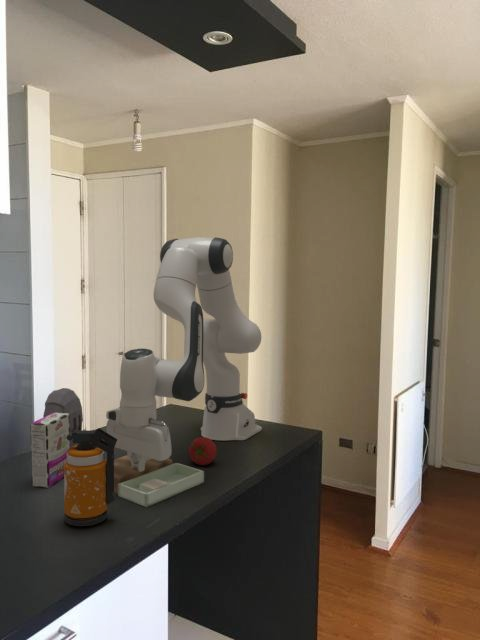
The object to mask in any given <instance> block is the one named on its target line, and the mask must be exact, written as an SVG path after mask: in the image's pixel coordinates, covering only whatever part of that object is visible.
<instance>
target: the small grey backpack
mask: <svg viewBox="0 0 480 640" xmlns="http://www.w3.org/2000/svg"><path fill="white" fill-rule="evenodd" d="M52 413H68V414H69V431H70V433H71V432H74V430H80V431H83V422H84V421H83V420H84V417H83V406H82V403H81V399H80V398H79V396H78V395H77V393H76V392H75V391H74V390H73V389H71V388H67V387H63V388H59V389H56V390H55V389H54V390H52V391H51V392H50V393H49V394H48V396H47V398H46V400H45V401H44V411H43V415H42V416H43V417H45V416H48V415H50V414H52ZM43 417H42V418H43ZM78 444H79V443H73V439H72V440H70V448H71V447H72V446H75V445H78Z"/></svg>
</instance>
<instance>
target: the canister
mask: <svg viewBox="0 0 480 640" xmlns="http://www.w3.org/2000/svg"><path fill="white" fill-rule="evenodd" d="M66 438H67V440H72V439H73V443H79V444H78V445H75V446H72V447H71V448H69V450H68V452H67V461H66V462H65V464H64V479H63V482H64V483H63V489H64V491H63V492H64V498H63V499H64V501H63V502H64V522H66V524H69V525H71V526H76V527H89V526H94V525H96V524H99V523H102V522H103V521H104V520H105V519H106V518H107V517H108V505H109V504H111V503H113V502H115V500H116V499H117V497H118V494H117V493H115V492H114V459H115V445H116V442H117V439H116V438H115V437H113V436H111V435H110V434H108V433H106V430H105V431H104V430H103V429H101V428H100V427H99V428H97V429H95V430H94V429H93V430H90V429H88V430H85V429H84V430H82V431H80V430H74V432H71V433H69V434H68V435H67V437H66ZM105 453H106V454H105ZM105 455H106V458H105Z"/></svg>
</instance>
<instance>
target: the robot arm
mask: <svg viewBox="0 0 480 640" xmlns="http://www.w3.org/2000/svg"><path fill="white" fill-rule="evenodd" d="M159 258H160V259H159V261H160V265H159V268H158V271H157V275H156V278H155V279H156V280H155V283H154V287H153V301H154V304H155V305H156V307H157V308H158V309H159V310H160V311H161V312H162V313H163V314H165V315H166V316H168V317H169V318H171V319H174V320H176V321H177V322H179V323H181V324H182V326H183V328H184V340H183V343H184V345H183V347H184V348H183V357H182V359H181V360H173V359H164V358H159V357H157V356H155V353H154V351H153V350H151V349H149V348H143V347H142V348H135V349H134V348H133V349H129V350H128V351H127V352H125V353H124V354H123V355H122V359H121V364H120V370H119V388H120V392H121V398H120V401H119V407H117V408H113V409H111V410H107V411H106V415H105V416H106V419H107V422H106V429H105V432H106V433H108V434H110V435H111V436H113V437H115V438H116V439H117V442H116V445H115V447H114V449H115V448H116V449H120V450H123V451H126V452H127V451H128V456H129V458H130V461H131V463H132V469H133V470H136V471H139V472H142V471H144V470H145V463H146V461H147V459H148V458H151V459H154V460H157V461H163V460H166V459H168V458H169V459H170V457H171V456H172V452H173V451H172V441H171V440H172V439H171V434H170V430H169V426H168V425H167V424H166V423H165V421H163V420H158V419H157V400H156V397H161V398H170V399H176V400H180V401H183V402H190V401H193V400H194V399H195V398H197V397H198V396H199V395H200V394H201V393H202V392H203V390H204V388H205V387H204V386H205V376H206V393H205V396H204V404H205V407H204V411H203V419H202V426H201V427H200V433H201V437H206V438H209V439H211V440H212V441H213V440H214V441H245V440H247V439H249V438H251V437H252V436H254V435H256V434H258V433H259V432H261V431H262V430H263V429H262V428H263V427H262V426H260V425H258V424H256V417H255V413H254V411H252V410H251V409H250V408H249V407H248V406H246V405H245V404H244V401H243V400H247V398H248V394H247V393H246V392H245V393H244V392H241V391H240V390H241V389H240V387H241V386H240V385H241V384H240V382H241V381H240V380H241V377H240V376H241V373H240V371H239V369H238V367H237V366H236V365H234V364H232V363H231V362H230V361H229V360H228V358H227V356H226V353H227V354H240V355H242V354H249V353H255V352H256V350H258V349H259V347H260V346H261V342H262V332H261V329H260V327H259V326H258V325H257V323H256V322H254V321H252V320H250V319H249V318H248V317H247V316H246V315H245V314H244V312H243V311H242V310H241V308H240V307H239V305H238V303H237V299H236V297H235V296H236V295H235V291H234V288H233V283H232V275H231V272H230V268H231V267H232V265H233V262H234V261H233V260H234V252H233V247H232V245H231V243H230V242H229V241H228V240H227V239H225V238H222V237H221V238H220V237H205V236H195V237H187V238H180V239H179V238H174V239H173V238H172V239H170V240H167V241H166V242H165V243H164V244H163V245H162V246H161V249H160V253H159ZM196 288H197V294H198V297H199V302H200V303H198V302H197V300H196ZM203 311H204V312H205V313H206V314H208V315H210V316H211V317H212V318H204V312H203ZM204 369H205V370H204ZM137 454H138V457H137ZM138 458H139V459H140V460H139V461H138Z"/></svg>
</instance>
